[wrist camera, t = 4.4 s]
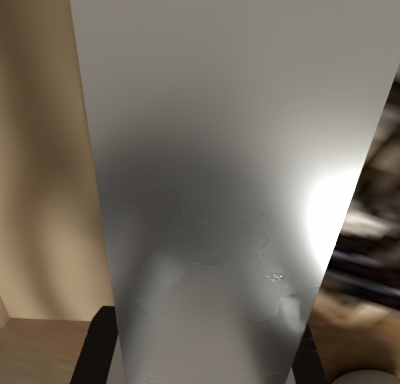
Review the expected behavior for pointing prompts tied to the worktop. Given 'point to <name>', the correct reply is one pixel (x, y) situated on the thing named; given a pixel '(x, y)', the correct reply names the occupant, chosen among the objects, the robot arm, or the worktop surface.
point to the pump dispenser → (367, 378)
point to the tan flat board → (47, 172)
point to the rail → (227, 168)
